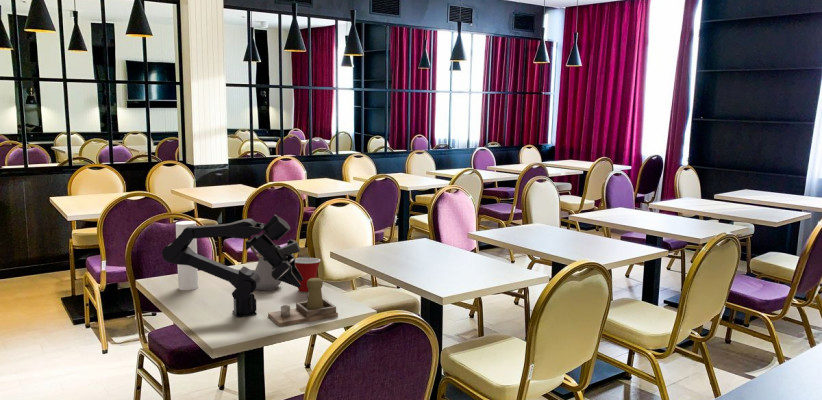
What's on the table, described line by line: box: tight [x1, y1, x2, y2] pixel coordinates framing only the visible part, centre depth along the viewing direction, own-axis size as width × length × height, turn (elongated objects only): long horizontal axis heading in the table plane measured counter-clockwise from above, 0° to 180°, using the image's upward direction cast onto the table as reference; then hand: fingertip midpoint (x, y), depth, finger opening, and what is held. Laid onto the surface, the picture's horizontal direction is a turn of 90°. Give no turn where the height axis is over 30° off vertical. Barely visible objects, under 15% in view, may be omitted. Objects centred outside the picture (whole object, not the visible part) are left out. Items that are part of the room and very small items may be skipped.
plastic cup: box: [292, 257, 321, 293], centre depth 236 cm, size 11×11×12 cm
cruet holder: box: [267, 298, 339, 327], centre depth 206 cm, size 20×11×4 cm, turn 120°
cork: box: [306, 277, 324, 310], centre depth 208 cm, size 6×6×11 cm
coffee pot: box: [244, 243, 282, 291], centre depth 242 cm, size 21×12×15 cm, turn 40°
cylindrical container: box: [175, 220, 199, 291], centre depth 236 cm, size 7×7×25 cm
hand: (301, 283), depth 208 cm, fingers open, 9 cm apart
